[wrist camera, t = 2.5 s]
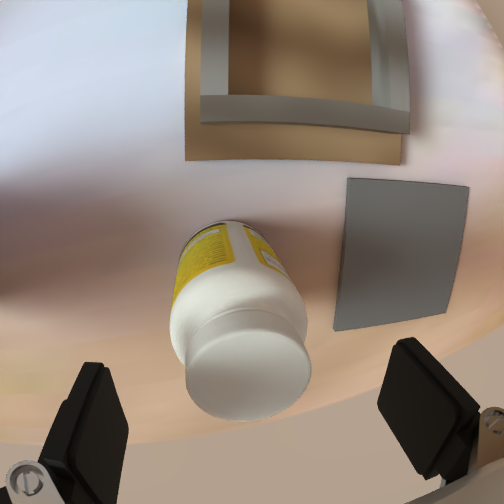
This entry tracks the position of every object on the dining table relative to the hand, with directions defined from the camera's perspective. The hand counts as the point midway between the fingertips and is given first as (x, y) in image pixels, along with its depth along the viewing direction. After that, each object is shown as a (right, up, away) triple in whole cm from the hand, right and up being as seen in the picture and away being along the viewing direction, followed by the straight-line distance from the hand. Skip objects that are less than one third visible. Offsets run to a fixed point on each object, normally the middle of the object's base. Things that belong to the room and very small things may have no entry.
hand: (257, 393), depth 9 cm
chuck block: (+2, +16, +5) cm, 17 cm away
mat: (+10, +4, +11) cm, 15 cm away
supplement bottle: (-2, +4, +9) cm, 10 cm away
